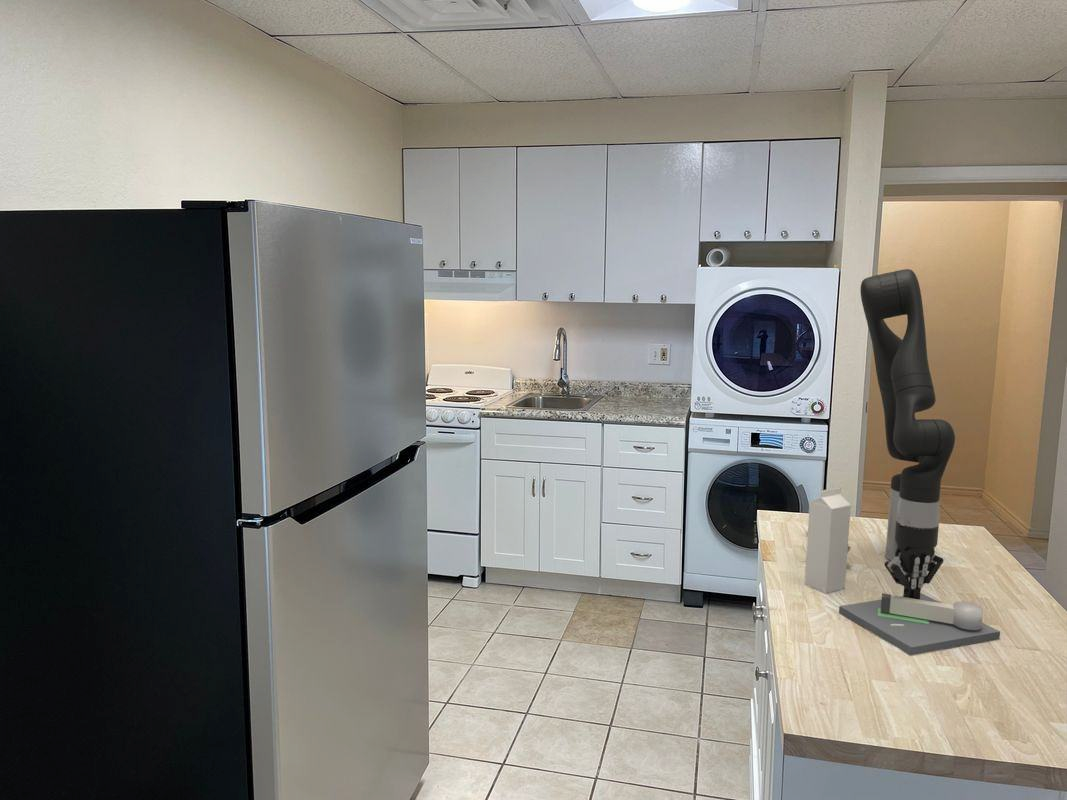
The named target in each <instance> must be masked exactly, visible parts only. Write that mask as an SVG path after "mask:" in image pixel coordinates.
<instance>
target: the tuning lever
mask: <svg viewBox="0 0 1067 800" xmlns="http://www.w3.org/2000/svg"><path fill="white" fill-rule="evenodd" d="M880 600H881V612H884V613H892V614H898V615H903V616H909V617H915V618H921V619H927V620H932V621H938V622H944V623H950V624H954V625H955V626H957V627H959V628H963V629H967V630H979V629H981V628H982V623H983V617H984V608H983V607H982V606H981V605H979V604H976V603H973V602H968V601H956V602H954V603H953V604H950V603H949V604H948V603H942V602H941V603H937V602H931V601H925V600H919V599H913V598H907V597H901V595H900V596H899V595H893V594H890V593H884V592H883V593H881V599H880Z"/></svg>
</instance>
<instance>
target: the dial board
mask: <svg viewBox="0 0 1067 800" xmlns="http://www.w3.org/2000/svg"><path fill="white" fill-rule="evenodd" d="M900 596H901V595H900ZM901 597H903V595H902V596H901ZM881 600H882V599H877V600H876V599H875V600H871V601H870V600H869V601H864V602H863V601H862V602H856V603H851V604H844V605H839V607H838V614H839V615H841V616H843V617H845V619H849V620H850V621H852V622H853V623H855V624H856V625H859V626H861V627H862V628H864V629H865V630H867V631H869V632H870V633H872V634H874V635H875V636H877V637H879V638H881V639H882V640H885V642H887V643H889V644H891V645H893V646H894V647H896V648H898V649H899V650H901V651H903V652H904V653H906V654H908V655H910V656H914V655H919V654H926V653H930V652H935V651H941V650H948V649H952V648H958V647H962V646H967V645H968V646H969V645H973V644H980V643H984V642H985V643H986V642H989V641H990V642H991V641H996V640H1000V638H1001V630H998V629H996V628H994V627H992V626H990V625H988V624H986V623H984V622H982V628H981V629H979V630H967V629H963V628H959V627H957V626H955V625H954V624H950V623H944V622H938V621H932V620H927V619H921V618H915V617H909V616H903V615H898V614H892V613H884V612H881ZM920 600H925V601H931V602H937V603H942V602H940V601H938V600H937V599H934V598H932V597H930V596H928V595H926V594H924V593H921V592H920Z"/></svg>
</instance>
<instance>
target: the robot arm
mask: <svg viewBox="0 0 1067 800" xmlns="http://www.w3.org/2000/svg"><path fill="white" fill-rule="evenodd" d="M920 287H921V286H920V282H919V279H918V276H917V275H916V273H915V272H914V271H913V270H912V269H908V268H906V269H905V268H904V269H900V270H899V269H898V270H895V271H890V272H885V273H882V274H877V275H872V276H869V277H865V278H863V280H862V281H861V284H860V289H859V290H860V298H861V299H860V300H861V304H862V308H863V312H864V316H865V319H866V325H867V327H868V332H869V335H870V341H871V343H872V345H871V346H872V350H873V357H874V366H875V373H876V378H877V384H878V387H879V392H880V396H881V402H882V407H883V408H882V409H883V415H884V426H885V427H884V429H885V438H886V439H885V440H886V448H887V452H888V454H889V455H890V457H891V458H893V459H896V460H899V461H904V462H911V463H917V464H915V465H911V466H907V467H905V468H903V470H901V473H898V474H897V473H896V474H895V475H893V476H892V477H891V480H890V493H889V504H888V505H889V507H888V519H887V527H886V528H887V530H886V544H885V553H884V555H885V558H886V559H887V560H886V561H885V562H884V566H885V568H886V570H887V571H888V573H889V574H890V576H891V578H892V579H893V580H894V582H895V583H896V584H898V585H900V586H902V587H903V595H902V596H903V597H907V598H913V599H919V600H920V594H921V589H922V588H923V586H924V585H925V584H927V585H928V584H930V583H931V581H932V580H933V579H934V577H935V575H936V574H937V572H938V571H939V569H940V568H941V566H942V565H943V563H944V558H943V557H941V556H939V555H937V554H936V553H935V552H936V551H935V548H936V547H937V546H938V541H939V539H938V538H939V528H940V513H941V512H940V511H941V510H940V509H941V508H940V497H941V484H942V483H941V482H942V478H943V476H944V473H945V470H946V467H947V464H948V462H949V460H950V458H951V455H952V453H953V450H954V447H955V441H956V435H955V431H954V428H953V427H952V425H951V424H950V423H949V422H948V421H947V420H945V419H934V418H931V419H926V418H925V419H921V418H920V419H916V416H915V415H916V413H919V412H920V413H921V412H923V411H928V410H929V409H931V408H932V407H934V405H935V404H936V402H937V401H936V392H935V389H934V384H933V380H932V376H931V375H932V374H931V371H930V366H929V359H928V351H927V350H928V349H927V335H926V326H925V325H926V324H925V315H924V314H925V313H924V306H923V300H922V299H923V298H922V293H921V288H920ZM900 316H907V322H906V323H907V324H906V330H905V332H904V336H903V339H902V338H901V337H899V336H898V335H896V334H895V333H894V332H893V331H892V329H891V328H890V327H889V326H888V324H887V323H886V321H885V319H890V318H894V317H900Z"/></svg>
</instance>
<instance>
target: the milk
mask: <svg viewBox="0 0 1067 800" xmlns="http://www.w3.org/2000/svg"><path fill="white" fill-rule="evenodd" d="M851 506H852V504H850V503H849V502H848V501H847V499H846V498H845V497H844V496H843V495H842V494H841V487H834V488H829V489H823V490H821V492H820V497H818V498H816V499H814V500H811V501H809V508H808V521H807V522H808V527H807V538H806V539H807V540H806V541H807V542H806V556H805V569H804V570H805V574H804V585H805V586H808V587H810V588H811V589H814V590H817V591H819V592H822V593H823V594H829V593H833V592H837V591H841V590H844V589H845V588H846V577H847V575H846V574H847V561H848V553H847V550H848V546H849V545H848V544H849V535H850V533H849V532H850V523H851V522H850V521H851V520H850V518H851V508H852V507H851Z"/></svg>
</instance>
